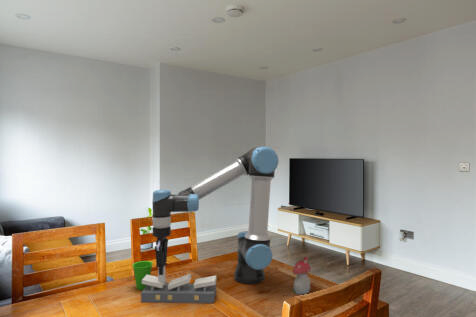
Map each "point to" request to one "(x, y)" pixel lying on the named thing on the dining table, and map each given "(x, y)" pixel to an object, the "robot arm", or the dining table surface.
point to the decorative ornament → (301, 277)
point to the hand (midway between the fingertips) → (161, 281)
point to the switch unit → (179, 294)
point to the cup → (141, 272)
